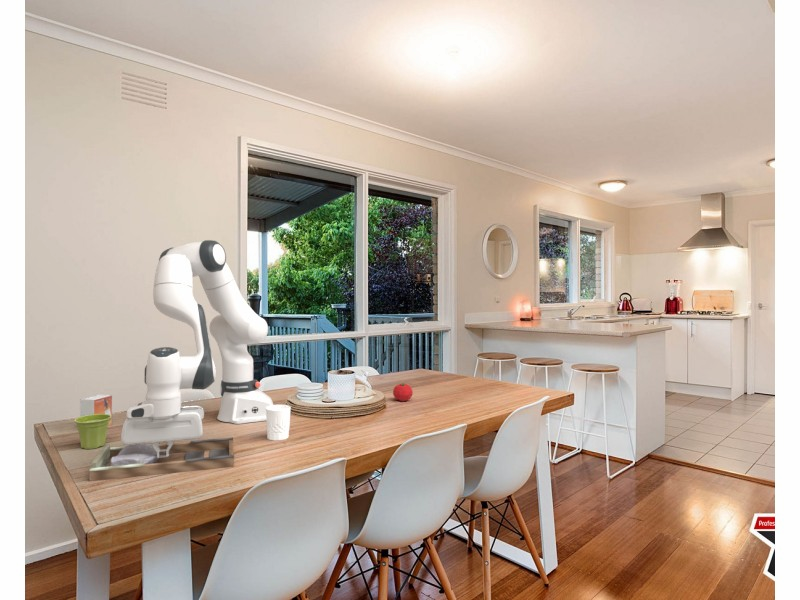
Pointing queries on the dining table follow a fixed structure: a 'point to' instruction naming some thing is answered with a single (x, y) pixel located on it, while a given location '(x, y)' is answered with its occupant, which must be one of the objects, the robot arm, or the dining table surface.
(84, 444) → the plant pot
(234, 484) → the dining table surface
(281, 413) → the white cup
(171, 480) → the dining table surface
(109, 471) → the box
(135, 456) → the stone block
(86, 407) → the small box
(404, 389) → the tomato
